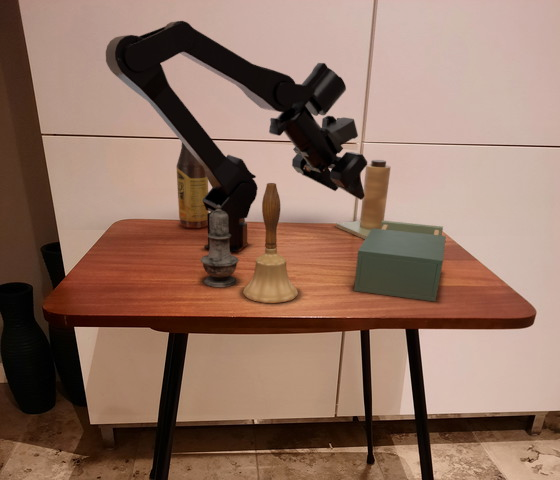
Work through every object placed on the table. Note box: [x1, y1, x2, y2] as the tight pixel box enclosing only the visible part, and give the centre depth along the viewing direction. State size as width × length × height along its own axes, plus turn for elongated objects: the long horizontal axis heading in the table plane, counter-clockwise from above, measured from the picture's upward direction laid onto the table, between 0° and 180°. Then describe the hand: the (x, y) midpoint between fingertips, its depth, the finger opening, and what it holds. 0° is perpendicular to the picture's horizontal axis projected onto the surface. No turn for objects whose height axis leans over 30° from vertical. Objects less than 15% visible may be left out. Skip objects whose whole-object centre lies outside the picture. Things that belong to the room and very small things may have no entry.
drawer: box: [381, 220, 444, 236], centre depth 99 cm, size 17×11×5 cm, turn 163°
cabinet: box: [353, 228, 447, 303], centre depth 88 cm, size 14×12×6 cm
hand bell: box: [242, 182, 299, 304], centre depth 79 cm, size 8×8×16 cm
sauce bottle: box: [176, 142, 210, 229], centre depth 111 cm, size 7×6×20 cm
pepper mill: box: [359, 159, 391, 230], centre depth 114 cm, size 5×5×13 cm
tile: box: [335, 220, 371, 240], centre depth 117 cm, size 11×11×1 cm
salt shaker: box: [200, 204, 239, 288], centre depth 84 cm, size 6×6×12 cm
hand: (349, 193), depth 111 cm, fingers open, 9 cm apart
